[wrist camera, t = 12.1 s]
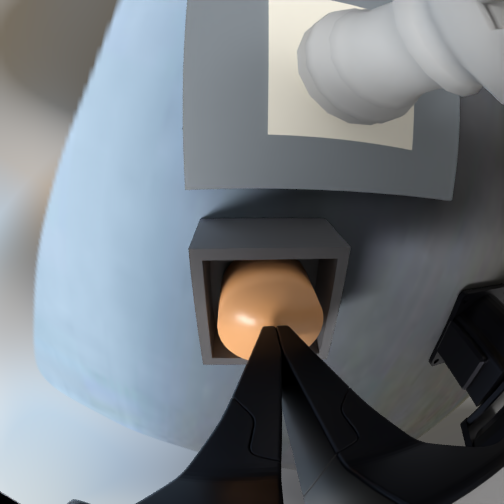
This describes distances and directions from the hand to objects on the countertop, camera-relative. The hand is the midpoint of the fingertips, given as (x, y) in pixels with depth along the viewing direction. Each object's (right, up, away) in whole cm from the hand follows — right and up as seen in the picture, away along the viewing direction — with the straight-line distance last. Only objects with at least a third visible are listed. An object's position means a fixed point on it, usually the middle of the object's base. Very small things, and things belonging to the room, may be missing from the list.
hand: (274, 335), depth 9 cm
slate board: (+3, +10, 0) cm, 10 cm away
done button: (0, +1, +2) cm, 3 cm away
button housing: (0, +2, +3) cm, 4 cm away
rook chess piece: (+3, +10, -1) cm, 10 cm away
